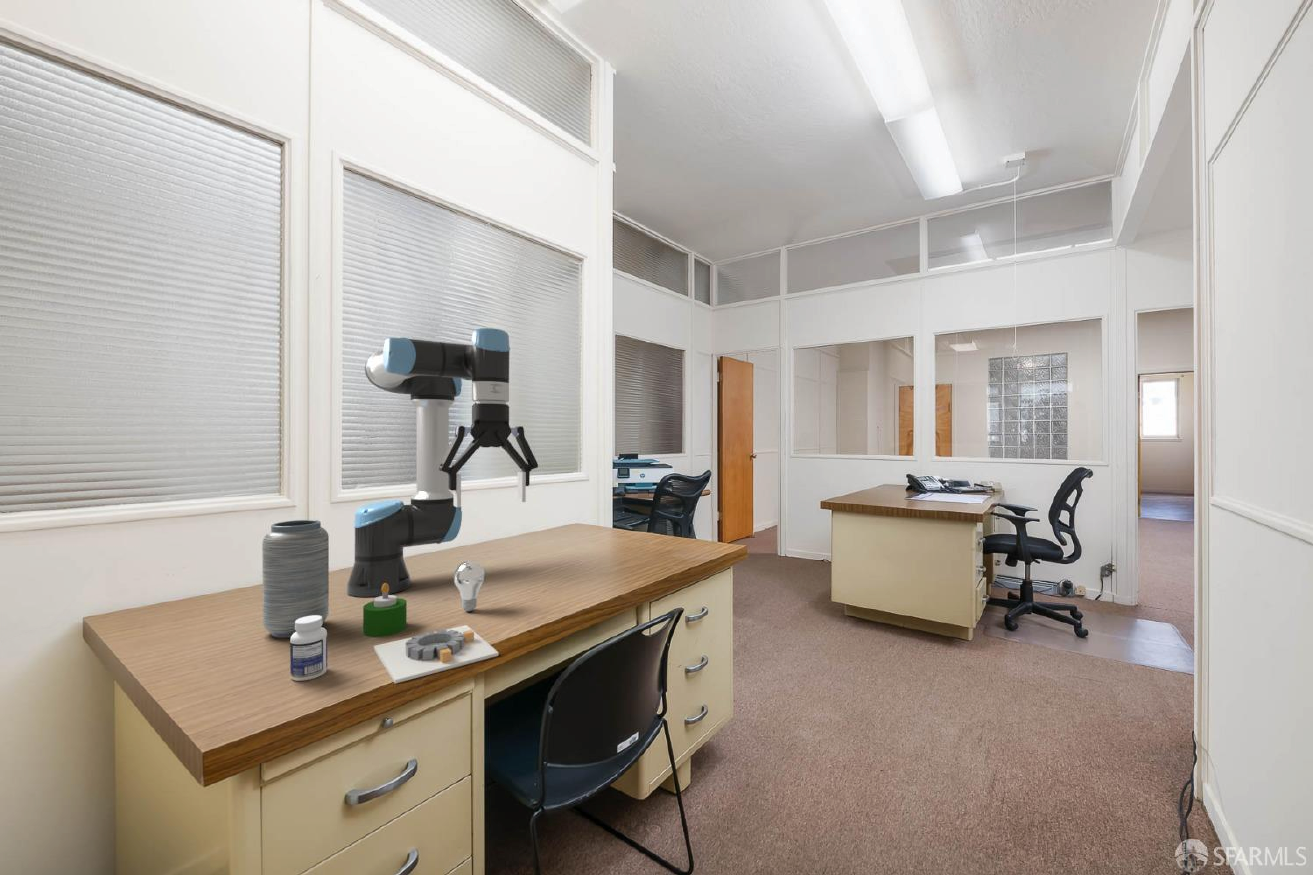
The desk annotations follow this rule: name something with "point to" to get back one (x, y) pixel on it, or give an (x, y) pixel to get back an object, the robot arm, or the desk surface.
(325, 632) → the pill bottle
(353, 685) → the desk surface
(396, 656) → the socket
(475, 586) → the light bulb
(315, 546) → the vase
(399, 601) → the candle
